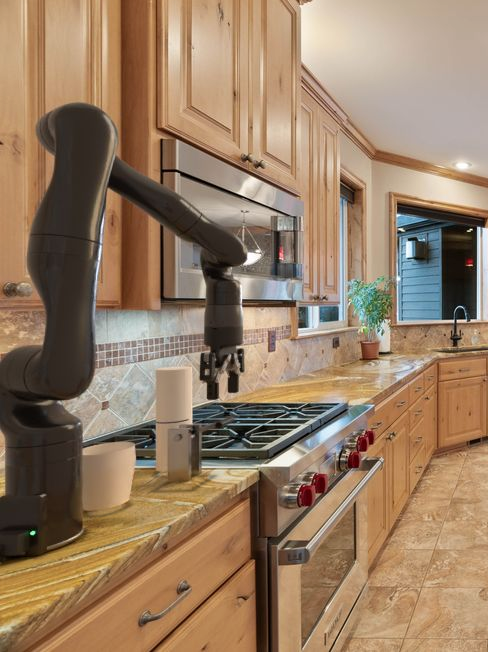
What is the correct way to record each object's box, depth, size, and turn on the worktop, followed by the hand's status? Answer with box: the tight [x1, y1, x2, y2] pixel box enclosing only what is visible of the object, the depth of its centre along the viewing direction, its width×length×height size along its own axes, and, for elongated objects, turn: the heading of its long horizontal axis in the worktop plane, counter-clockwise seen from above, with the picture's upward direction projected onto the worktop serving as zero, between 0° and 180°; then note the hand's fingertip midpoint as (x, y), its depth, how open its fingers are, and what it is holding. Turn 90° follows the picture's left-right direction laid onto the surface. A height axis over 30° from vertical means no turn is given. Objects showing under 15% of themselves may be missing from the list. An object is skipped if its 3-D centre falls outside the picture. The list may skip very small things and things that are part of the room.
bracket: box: [167, 423, 203, 483], centre depth 104 cm, size 8×9×13 cm
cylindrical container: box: [155, 365, 193, 473], centre depth 112 cm, size 7×7×25 cm
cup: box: [83, 441, 137, 512], centre depth 91 cm, size 9×9×12 cm
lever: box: [189, 415, 235, 438], centre depth 105 cm, size 11×6×2 cm, turn 95°
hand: (223, 396), depth 105 cm, fingers open, 8 cm apart
